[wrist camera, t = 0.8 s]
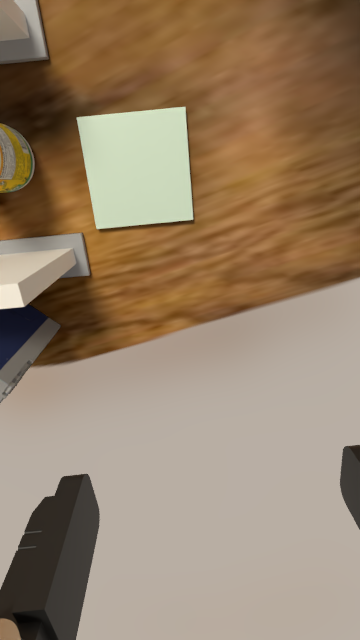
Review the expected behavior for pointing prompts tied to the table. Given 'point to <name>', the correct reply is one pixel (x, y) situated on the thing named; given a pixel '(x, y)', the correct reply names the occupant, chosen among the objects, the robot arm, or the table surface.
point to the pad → (137, 167)
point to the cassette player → (21, 343)
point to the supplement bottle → (14, 160)
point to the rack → (47, 251)
